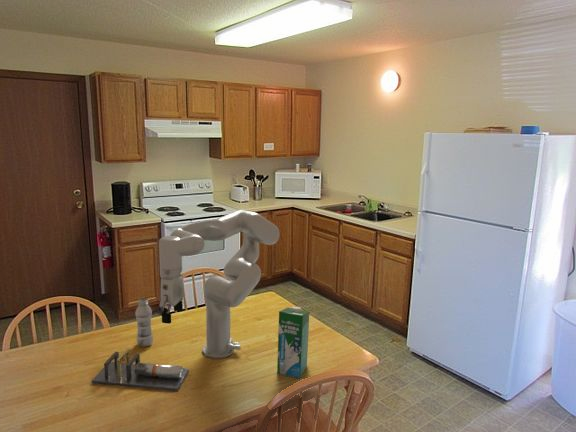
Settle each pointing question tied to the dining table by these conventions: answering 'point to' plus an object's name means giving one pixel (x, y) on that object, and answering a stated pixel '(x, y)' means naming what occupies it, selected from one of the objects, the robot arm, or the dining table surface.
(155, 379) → the plate
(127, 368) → the collar
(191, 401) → the dining table surface
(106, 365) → the collar
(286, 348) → the milk carton
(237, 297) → the robot arm
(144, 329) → the plastic bottle
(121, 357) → the aperture bridge
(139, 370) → the tube
